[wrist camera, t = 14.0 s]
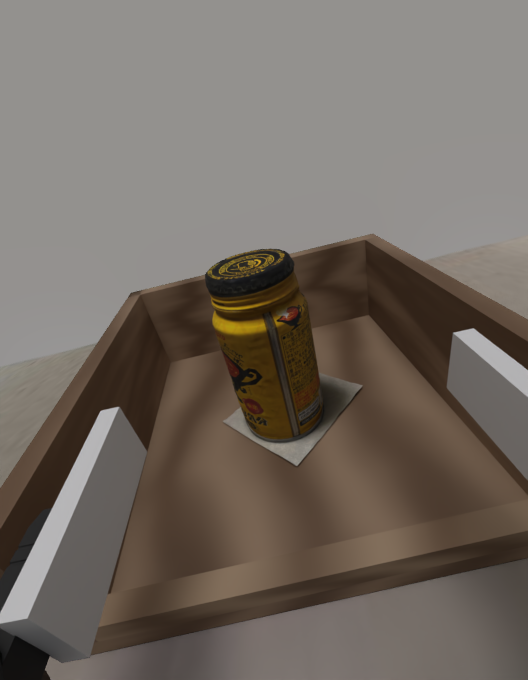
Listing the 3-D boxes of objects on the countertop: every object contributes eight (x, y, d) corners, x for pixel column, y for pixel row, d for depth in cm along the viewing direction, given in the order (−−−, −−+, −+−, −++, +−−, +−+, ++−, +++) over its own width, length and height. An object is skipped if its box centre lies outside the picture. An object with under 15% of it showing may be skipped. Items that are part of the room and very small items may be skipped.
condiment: (223, 423, 25) (166, 279, 19) (290, 363, 30) (262, 232, 24) (297, 468, 20) (254, 296, 14) (363, 388, 25) (352, 233, 19)
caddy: (375, 317, 36) (372, 233, 31) (583, 545, 15) (669, 398, 10) (165, 367, 36) (131, 292, 31) (85, 655, 15) (-51, 564, 11)
